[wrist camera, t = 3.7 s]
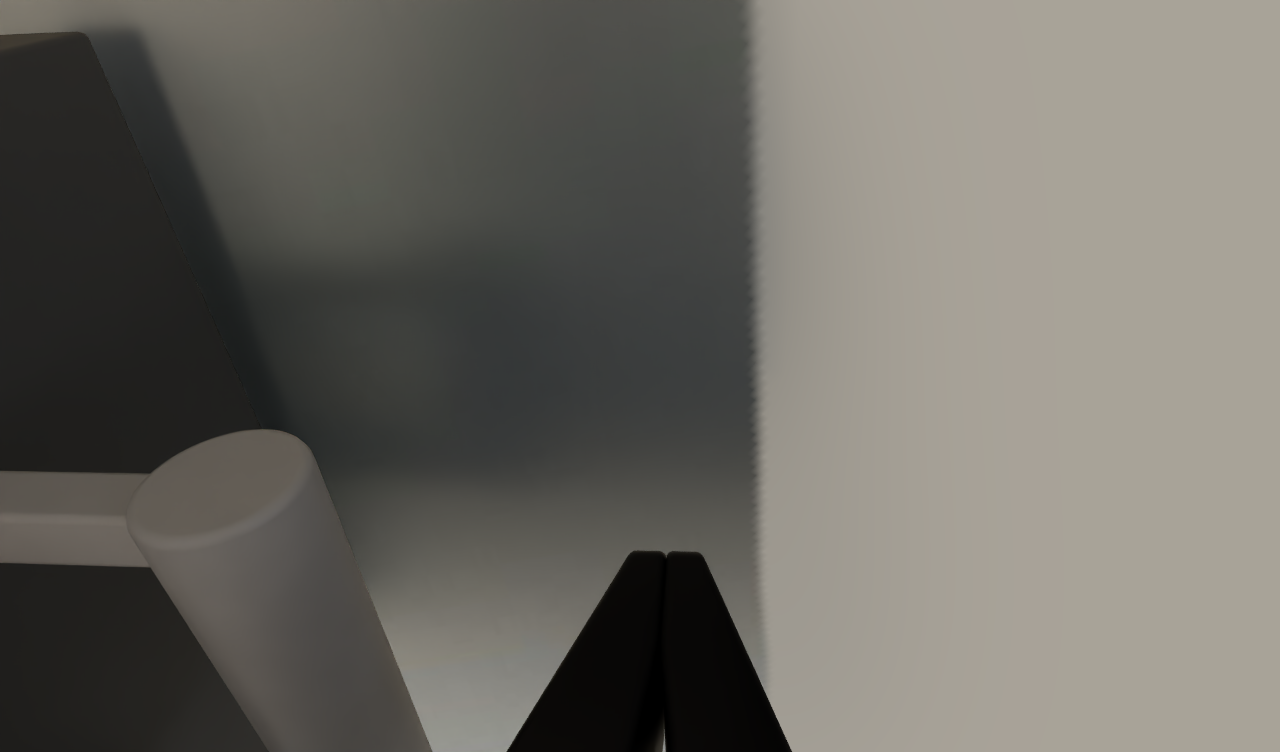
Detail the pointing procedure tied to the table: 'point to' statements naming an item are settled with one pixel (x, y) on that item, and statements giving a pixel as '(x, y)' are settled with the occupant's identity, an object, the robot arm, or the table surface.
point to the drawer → (152, 476)
